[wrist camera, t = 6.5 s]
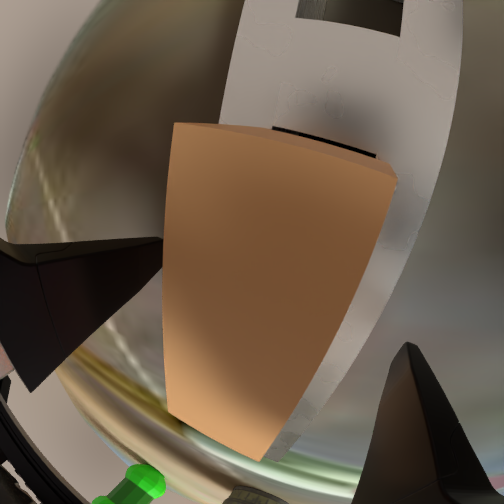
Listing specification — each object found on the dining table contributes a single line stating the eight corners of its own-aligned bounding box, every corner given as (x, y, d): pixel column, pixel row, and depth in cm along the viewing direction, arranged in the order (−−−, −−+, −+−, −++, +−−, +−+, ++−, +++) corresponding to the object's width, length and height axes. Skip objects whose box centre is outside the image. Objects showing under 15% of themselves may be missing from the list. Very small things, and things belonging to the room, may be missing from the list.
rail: (448, -5, 5) (459, -39, 2) (293, 431, 17) (277, 462, 15) (291, -35, 7) (264, -68, 5) (210, 391, 20) (189, 417, 17)
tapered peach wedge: (286, 130, 10) (174, 122, 5) (387, 160, 9) (397, 178, 4) (243, 326, 15) (168, 411, 9) (312, 357, 14) (258, 462, 8)
